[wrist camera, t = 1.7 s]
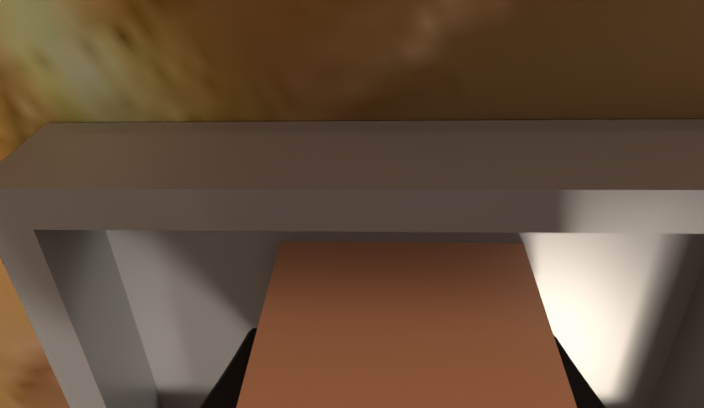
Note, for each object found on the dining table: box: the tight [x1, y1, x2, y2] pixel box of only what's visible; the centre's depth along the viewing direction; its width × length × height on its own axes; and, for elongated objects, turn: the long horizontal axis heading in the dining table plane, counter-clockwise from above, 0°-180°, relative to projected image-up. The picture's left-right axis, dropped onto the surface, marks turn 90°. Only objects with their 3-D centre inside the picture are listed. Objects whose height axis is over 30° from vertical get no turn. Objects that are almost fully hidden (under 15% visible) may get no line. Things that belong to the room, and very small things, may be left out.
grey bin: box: [0, 119, 704, 408], centre depth 13 cm, size 14×10×2 cm
